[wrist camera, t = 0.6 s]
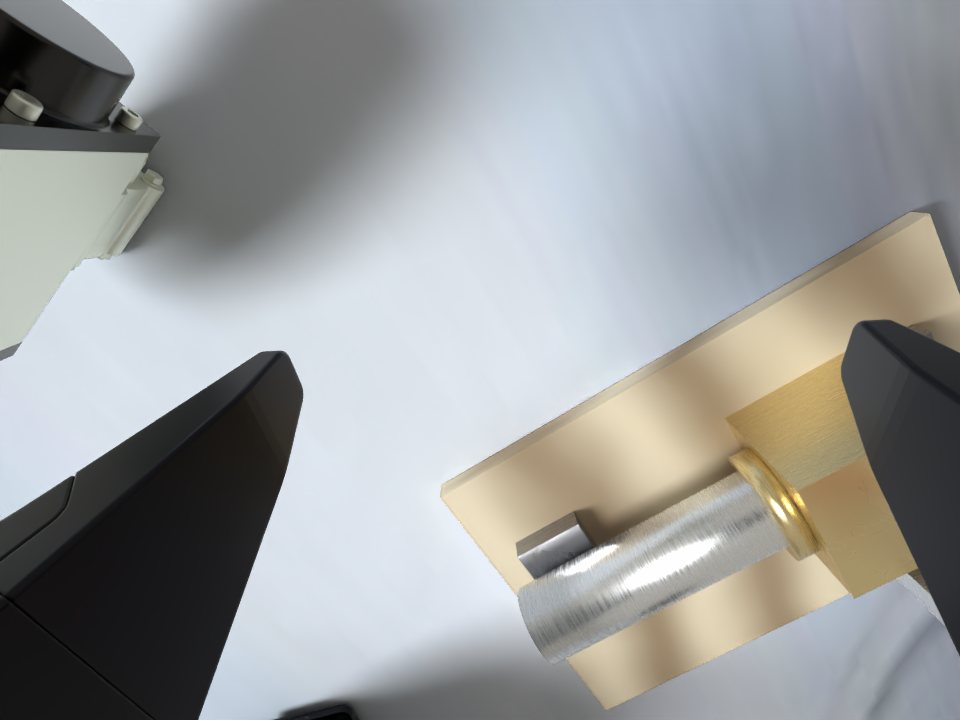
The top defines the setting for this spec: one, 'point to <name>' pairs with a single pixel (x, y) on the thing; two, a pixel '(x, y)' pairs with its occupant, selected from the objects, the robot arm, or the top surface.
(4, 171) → the pneumatic valve
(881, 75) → the top surface
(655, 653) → the mounting board
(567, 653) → the valve pipe
